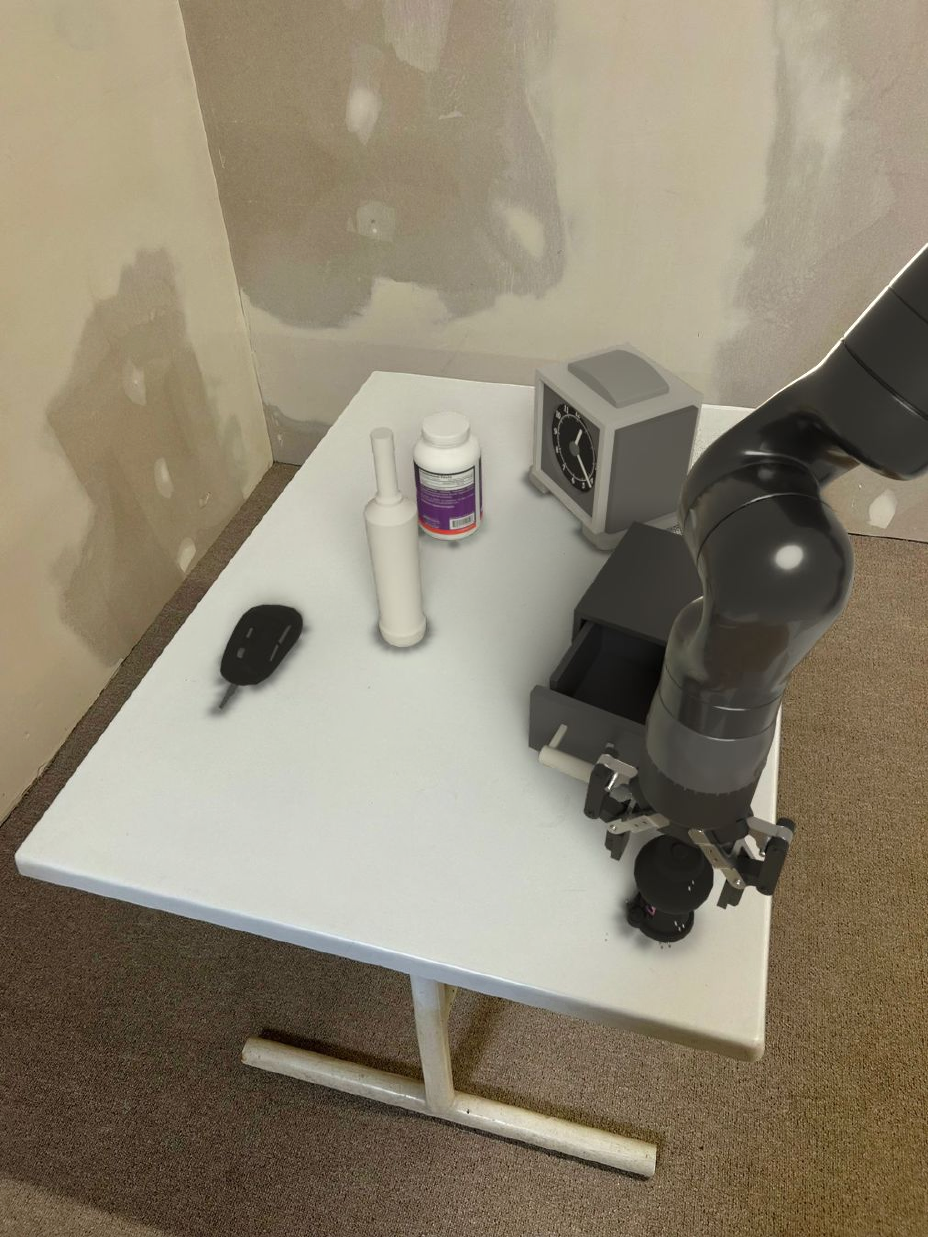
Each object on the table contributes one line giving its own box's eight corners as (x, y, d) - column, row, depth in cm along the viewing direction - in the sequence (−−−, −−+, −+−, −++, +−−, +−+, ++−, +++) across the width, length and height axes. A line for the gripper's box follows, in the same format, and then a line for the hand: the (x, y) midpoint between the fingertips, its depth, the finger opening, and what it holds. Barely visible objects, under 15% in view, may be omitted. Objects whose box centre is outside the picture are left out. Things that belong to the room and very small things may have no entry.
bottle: (389, 612, 97) (364, 415, 80) (433, 619, 96) (417, 421, 79) (373, 644, 93) (344, 445, 76) (419, 652, 92) (399, 452, 75)
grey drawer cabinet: (686, 721, 84) (702, 653, 78) (568, 677, 89) (573, 609, 82) (733, 623, 94) (751, 555, 87) (624, 587, 99) (633, 520, 92)
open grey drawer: (624, 832, 75) (633, 779, 69) (506, 781, 79) (507, 727, 73) (694, 687, 86) (707, 632, 81) (589, 649, 91) (594, 594, 85)
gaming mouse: (194, 701, 88) (184, 675, 85) (263, 607, 98) (256, 580, 95) (248, 716, 87) (240, 689, 84) (313, 618, 97) (308, 591, 94)
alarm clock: (525, 476, 115) (528, 347, 103) (608, 449, 119) (620, 322, 107) (602, 552, 103) (616, 417, 91) (691, 519, 107) (716, 386, 95)
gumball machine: (611, 885, 72) (623, 818, 65) (678, 869, 73) (697, 801, 66) (641, 962, 67) (657, 898, 60) (712, 944, 68) (736, 879, 61)
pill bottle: (438, 498, 112) (432, 399, 102) (493, 515, 109) (493, 414, 99) (406, 533, 107) (397, 432, 97) (463, 551, 104) (459, 449, 94)
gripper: (835, 741, 54) (777, 875, 66) (622, 664, 60) (602, 799, 71) (805, 833, 50) (749, 959, 61) (577, 740, 55) (564, 872, 66)
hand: (670, 873), depth 66 cm, fingers open, 8 cm apart
